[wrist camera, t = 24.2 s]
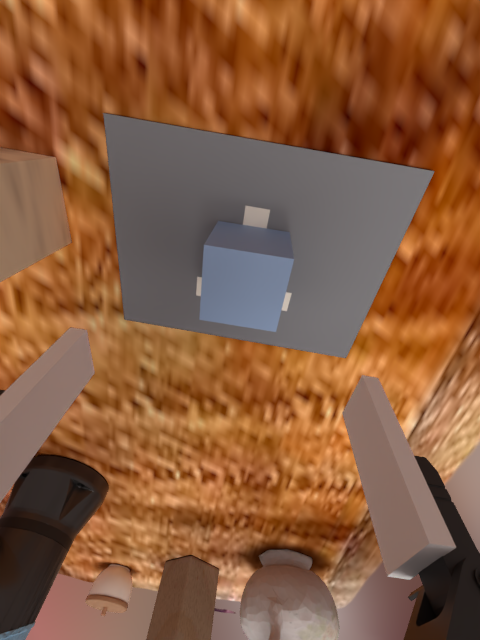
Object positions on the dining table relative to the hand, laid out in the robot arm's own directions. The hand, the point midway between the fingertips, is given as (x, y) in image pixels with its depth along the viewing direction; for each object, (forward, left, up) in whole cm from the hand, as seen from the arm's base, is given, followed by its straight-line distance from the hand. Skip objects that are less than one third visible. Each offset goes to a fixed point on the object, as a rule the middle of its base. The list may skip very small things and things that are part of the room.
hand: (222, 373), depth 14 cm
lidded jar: (-21, -96, -15) cm, 99 cm away
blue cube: (0, 0, -14) cm, 14 cm away
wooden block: (-1, -83, -15) cm, 84 cm away
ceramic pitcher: (+19, -68, -15) cm, 72 cm away
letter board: (0, 0, -14) cm, 14 cm away
